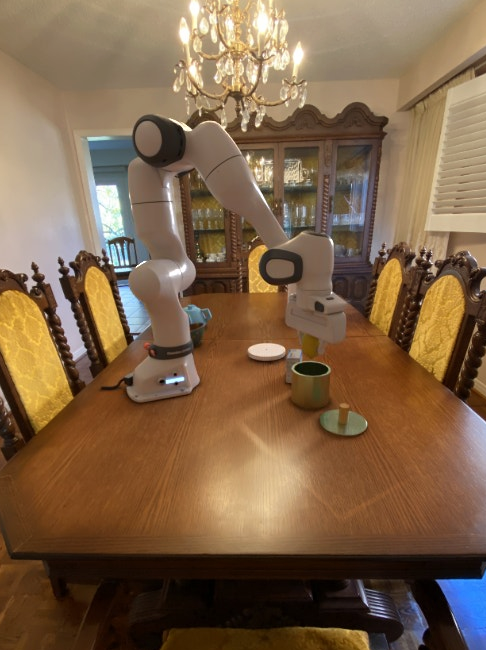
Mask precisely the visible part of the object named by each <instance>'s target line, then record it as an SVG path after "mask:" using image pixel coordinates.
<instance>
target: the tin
mask: <svg viewBox="0 0 486 650" xmlns="http://www.w3.org/2000/svg"><path fill="white" fill-rule="evenodd" d="M331 372H332V370H331V367H330V366H329V364H326V363H325V362H320V361H315V360H304V361H303V360H302V362H299V363H296V364H294V365H293V366H292V379H291V383H290V385H291V387H290V391H291V392H290V399H291V401H292V403H293V404H294V405H296V406H297V407H300V408H303V409H309V410H310V409H311V410H313V409H320V408H323V407H326V405H328V404H329V400H330V390H331V389H330V388H331V387H330V385H331Z"/></svg>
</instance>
